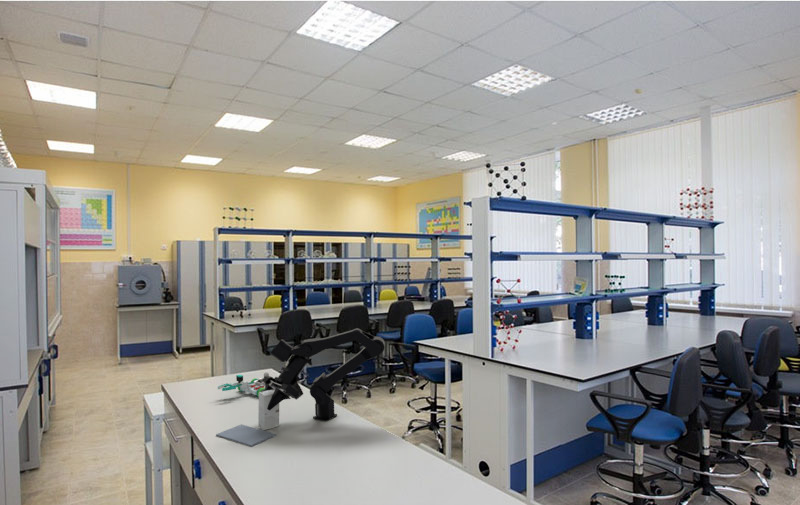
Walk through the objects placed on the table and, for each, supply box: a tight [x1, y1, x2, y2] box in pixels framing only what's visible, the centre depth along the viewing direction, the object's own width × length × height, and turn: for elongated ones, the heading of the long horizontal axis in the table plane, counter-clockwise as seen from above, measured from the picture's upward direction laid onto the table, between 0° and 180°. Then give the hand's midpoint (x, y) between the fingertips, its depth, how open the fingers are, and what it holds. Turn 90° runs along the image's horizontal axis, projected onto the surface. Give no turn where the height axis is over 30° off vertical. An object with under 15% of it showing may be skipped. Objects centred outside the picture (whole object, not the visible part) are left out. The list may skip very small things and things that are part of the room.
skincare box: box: [257, 389, 280, 431], centre depth 155 cm, size 6×4×12 cm
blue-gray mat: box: [215, 424, 277, 447], centre depth 148 cm, size 18×10×1 cm, turn 57°
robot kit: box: [217, 371, 270, 398], centre depth 194 cm, size 19×25×9 cm
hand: (265, 408), depth 154 cm, fingers closed on skincare box, 4 cm apart
